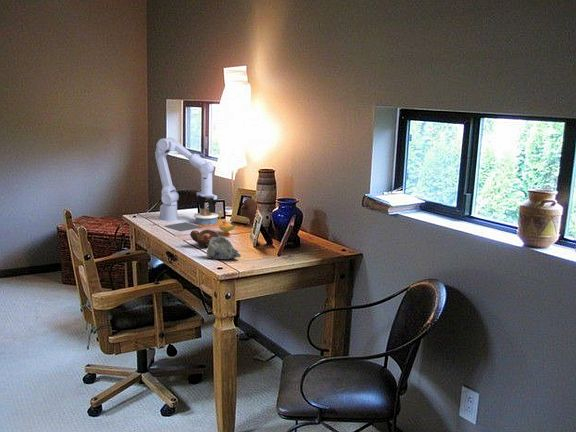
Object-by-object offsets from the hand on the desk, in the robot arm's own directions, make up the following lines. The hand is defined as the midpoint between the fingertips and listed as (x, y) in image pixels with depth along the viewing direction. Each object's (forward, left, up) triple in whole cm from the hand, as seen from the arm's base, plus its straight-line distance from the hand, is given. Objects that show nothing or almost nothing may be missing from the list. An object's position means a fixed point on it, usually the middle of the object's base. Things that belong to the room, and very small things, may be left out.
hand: (206, 211), depth 306 cm
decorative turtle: (+37, -29, -7) cm, 48 cm away
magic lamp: (+27, -8, -7) cm, 29 cm away
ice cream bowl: (+20, +14, -7) cm, 25 cm away
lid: (0, 0, -3) cm, 3 cm away
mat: (0, -15, -7) cm, 17 cm away
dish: (0, 0, -7) cm, 7 cm away
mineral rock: (+57, -37, -7) cm, 68 cm away
